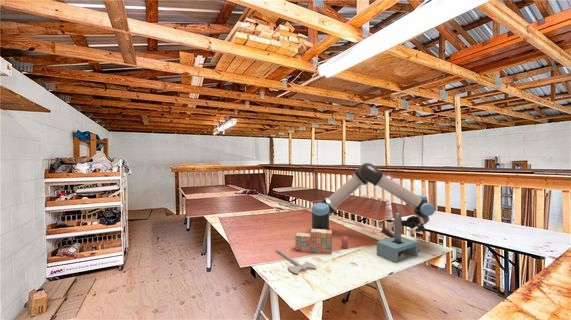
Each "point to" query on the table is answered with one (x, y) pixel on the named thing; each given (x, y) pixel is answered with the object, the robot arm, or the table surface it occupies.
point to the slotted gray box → (389, 233)
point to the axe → (296, 263)
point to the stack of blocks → (315, 241)
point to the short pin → (344, 242)
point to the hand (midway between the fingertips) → (400, 228)
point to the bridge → (396, 248)
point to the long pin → (397, 229)
